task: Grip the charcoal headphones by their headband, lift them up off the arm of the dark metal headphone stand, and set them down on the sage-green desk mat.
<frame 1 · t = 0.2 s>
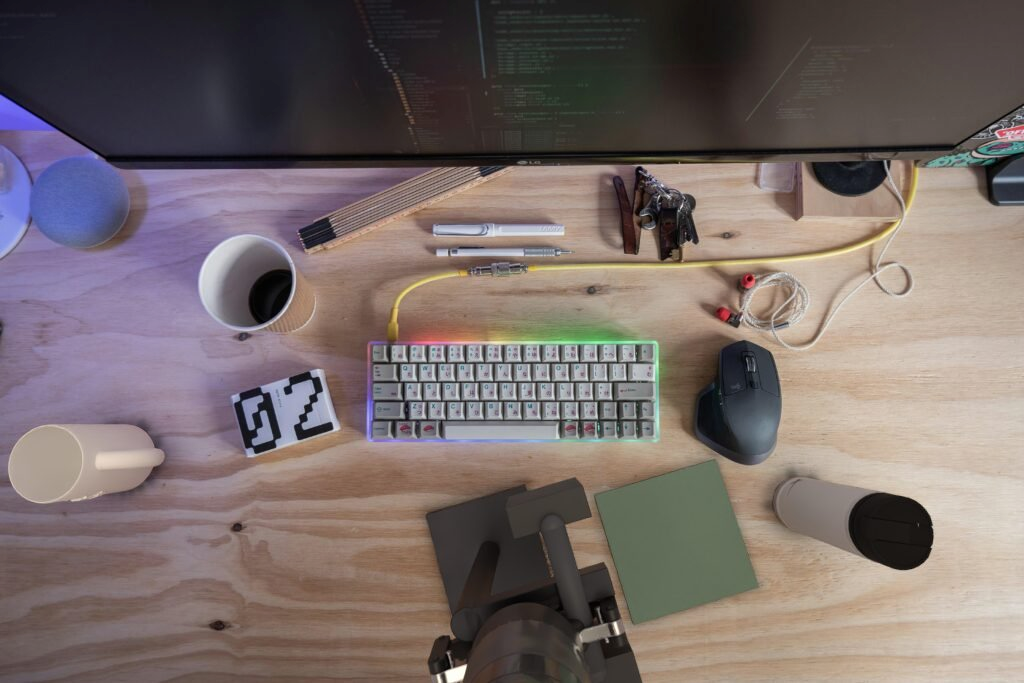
hand: (528, 611, 51), 19 cm above the table, tool pointing down, fingers open, 8 cm apart
headphones: (573, 596, 43), point 28 cm above the table, touching stand
desk mat: (674, 540, 70), on the table
stand: (490, 549, 70), on the table
mug: (141, 457, 73), on the table
travel mug: (796, 503, 70), on the table
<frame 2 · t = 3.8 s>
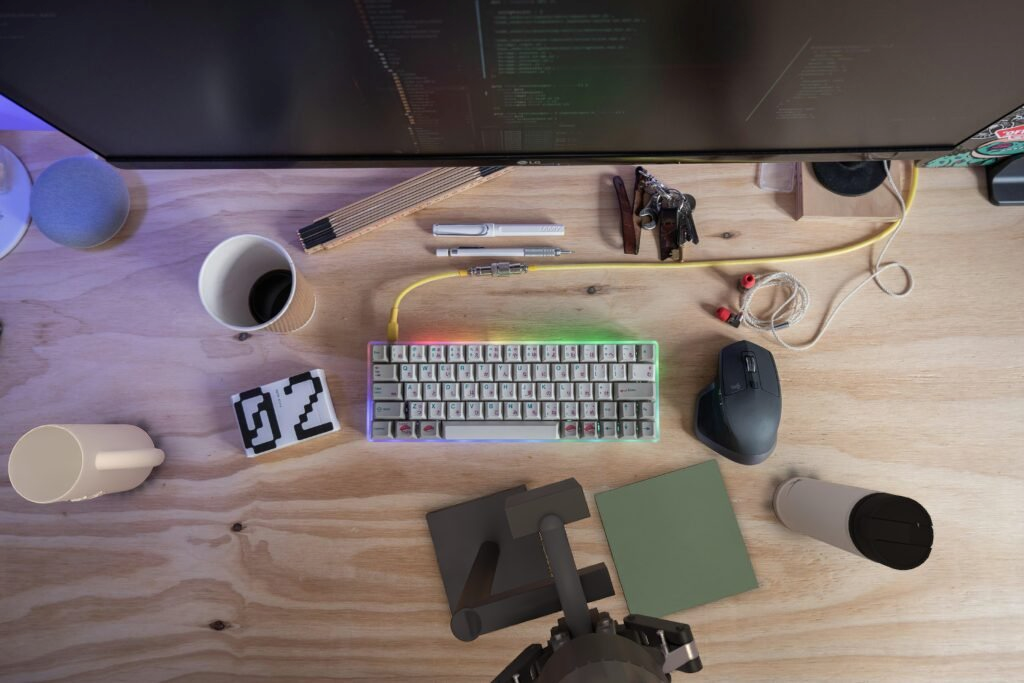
hand: (581, 626, 45), 25 cm above the table, tool pointing down, fingers closed on headphones
headphones: (571, 596, 43), point 28 cm above the table, touching gripper, stand
everything else where it was.
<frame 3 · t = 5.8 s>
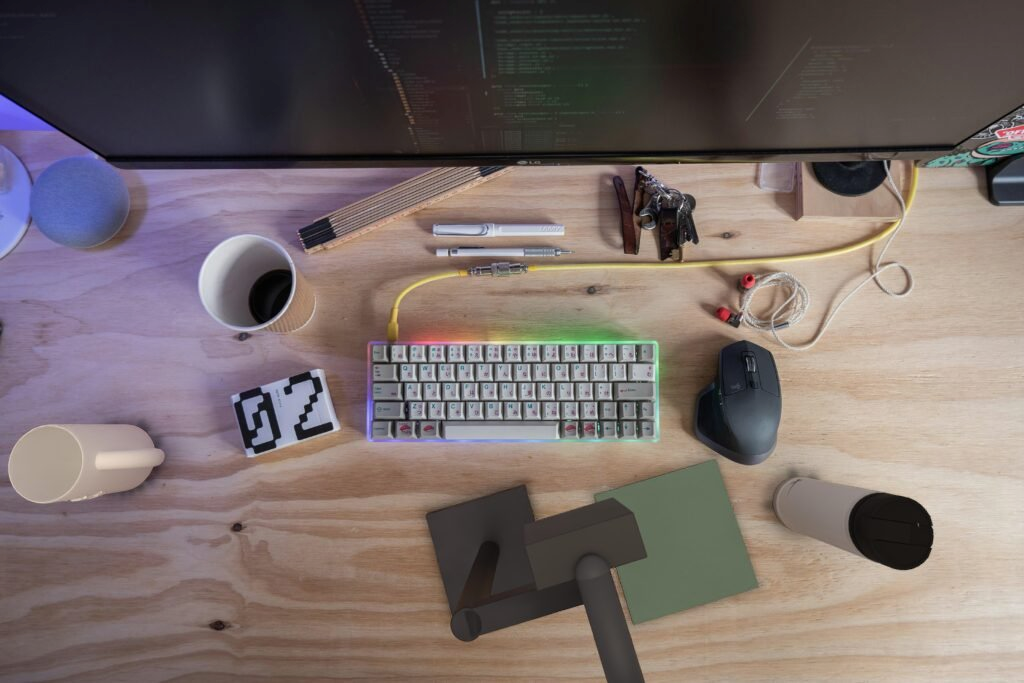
headphones: (623, 674, 30), point 41 cm above the table, touching gripper
everything else where it was.
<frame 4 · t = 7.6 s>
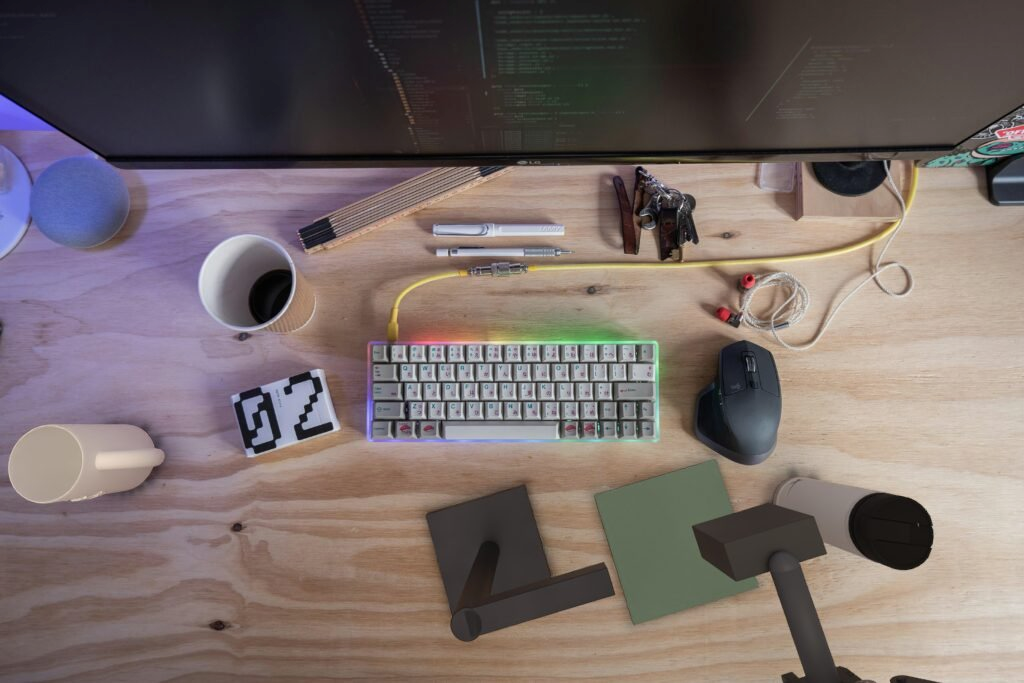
headphones: (813, 651, 36), point 34 cm above the table, touching gripper
everything else where it was.
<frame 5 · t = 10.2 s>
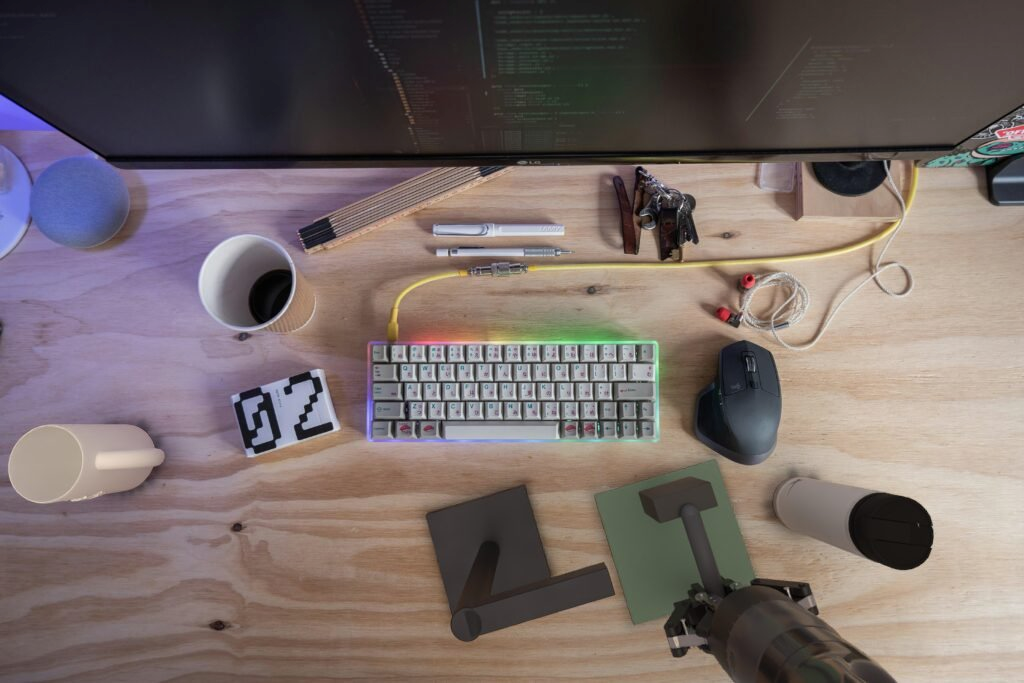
hand: (708, 590, 59), 10 cm above the table, tool pointing down, fingers closed on headphones
headphones: (706, 565, 57), point 13 cm above the table, touching gripper
everything else where it was.
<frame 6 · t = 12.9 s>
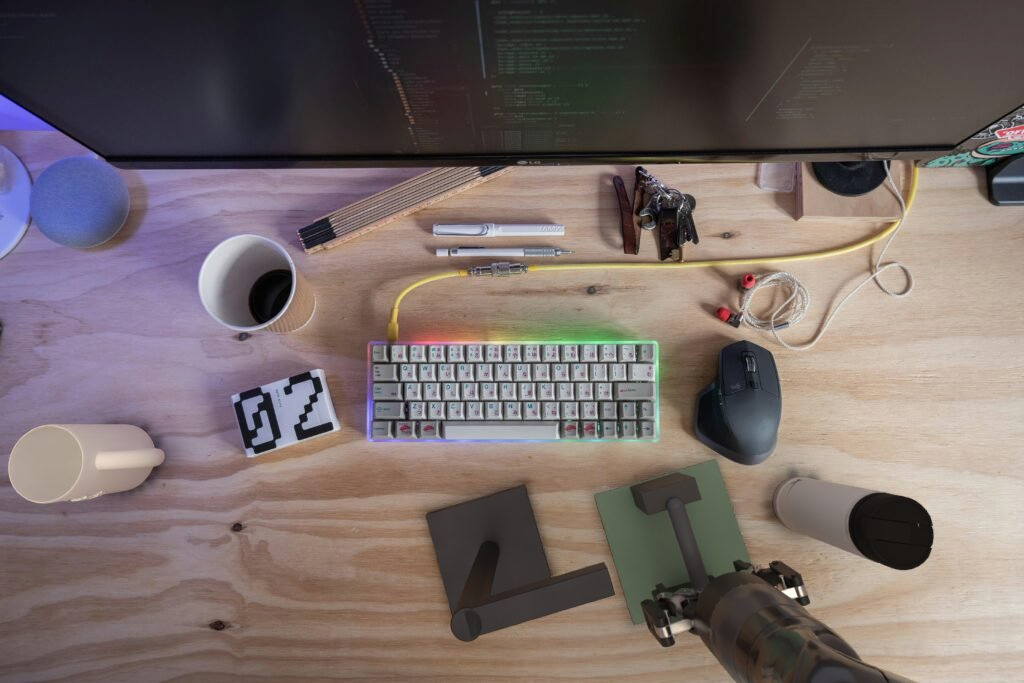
hand: (700, 581, 63), 7 cm above the table, tool pointing down, fingers open, 8 cm apart
headphones: (691, 554, 62), point 8 cm above the table, touching desk mat
everything else where it was.
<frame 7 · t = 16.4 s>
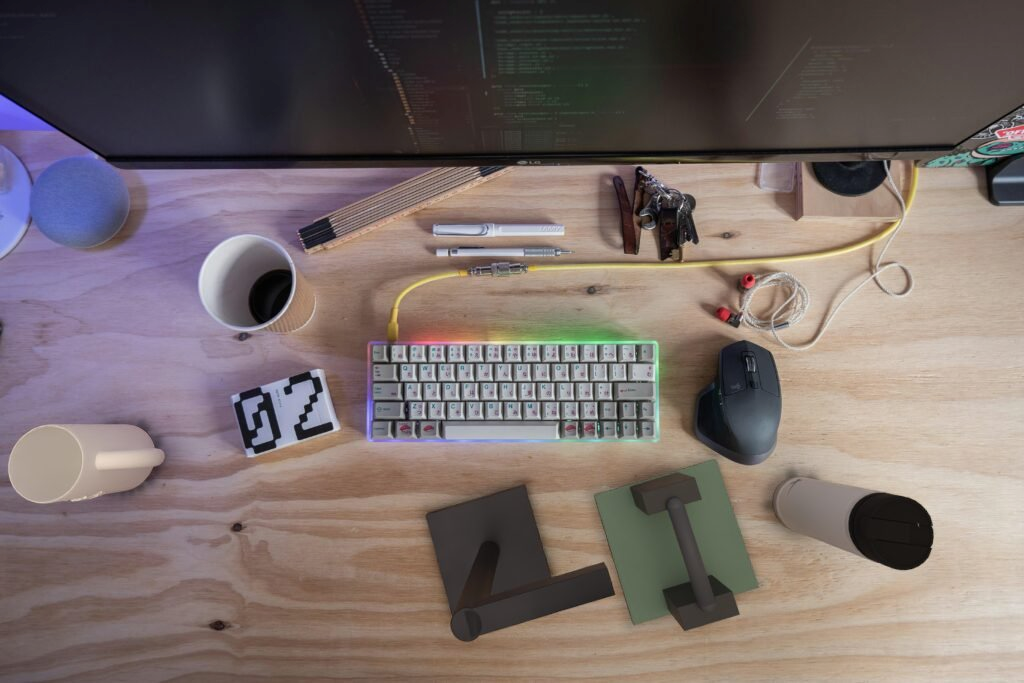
nothing on the table moved.
at the end: headphones inside the target area on the desk mat (0.2 cm from its centre), point 7.9 cm above the desk mat's base; headphones tilted 0°; the gripper is holding nothing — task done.
